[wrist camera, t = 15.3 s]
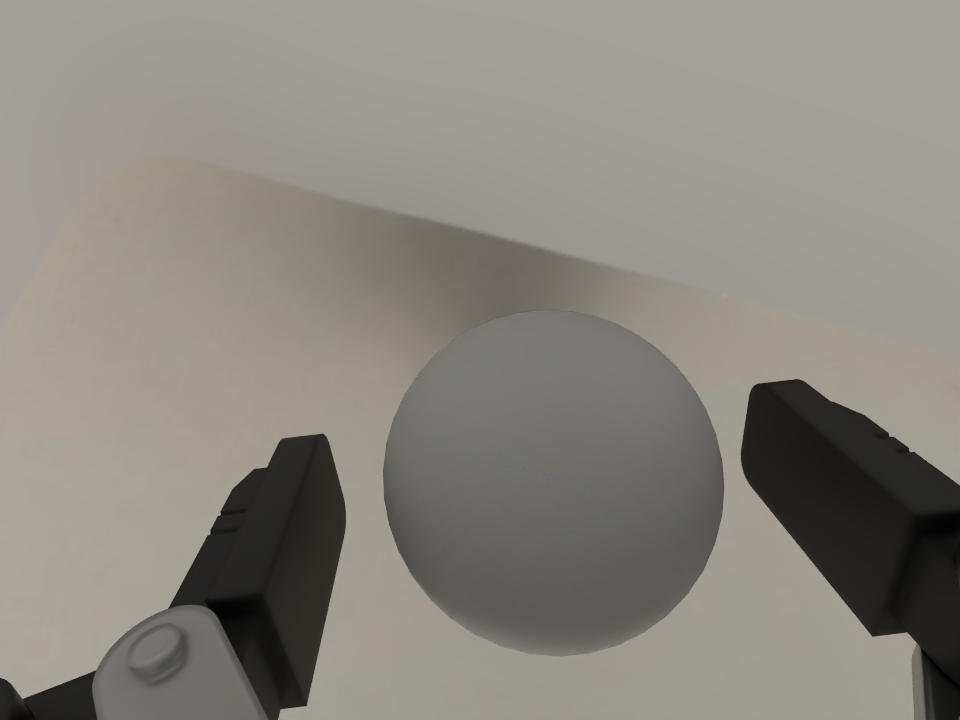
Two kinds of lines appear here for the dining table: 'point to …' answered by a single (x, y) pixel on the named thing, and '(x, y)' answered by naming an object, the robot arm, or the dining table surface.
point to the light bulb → (553, 482)
